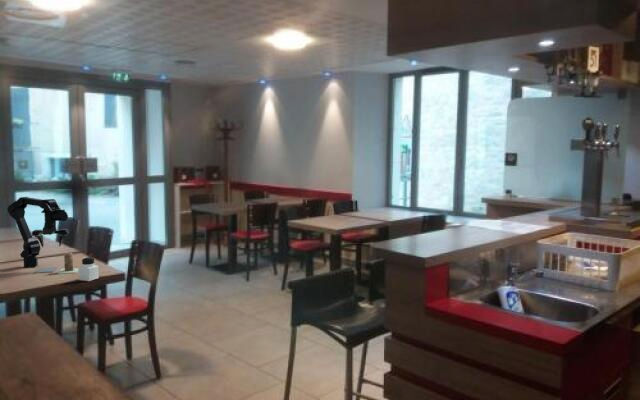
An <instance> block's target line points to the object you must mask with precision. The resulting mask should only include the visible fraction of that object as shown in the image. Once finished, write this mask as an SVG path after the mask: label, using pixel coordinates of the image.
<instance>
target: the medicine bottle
mask: <svg viewBox="0 0 640 400" xmlns="http://www.w3.org/2000/svg"><path fill="white" fill-rule="evenodd" d="M77 268H78V270H79V271H78V281H84V282H91V281H93V280H96V279H99V265H96V264H95V258H94V257H92V256H85V257H83V258H82V259H81V266H79V267H77Z"/></svg>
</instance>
